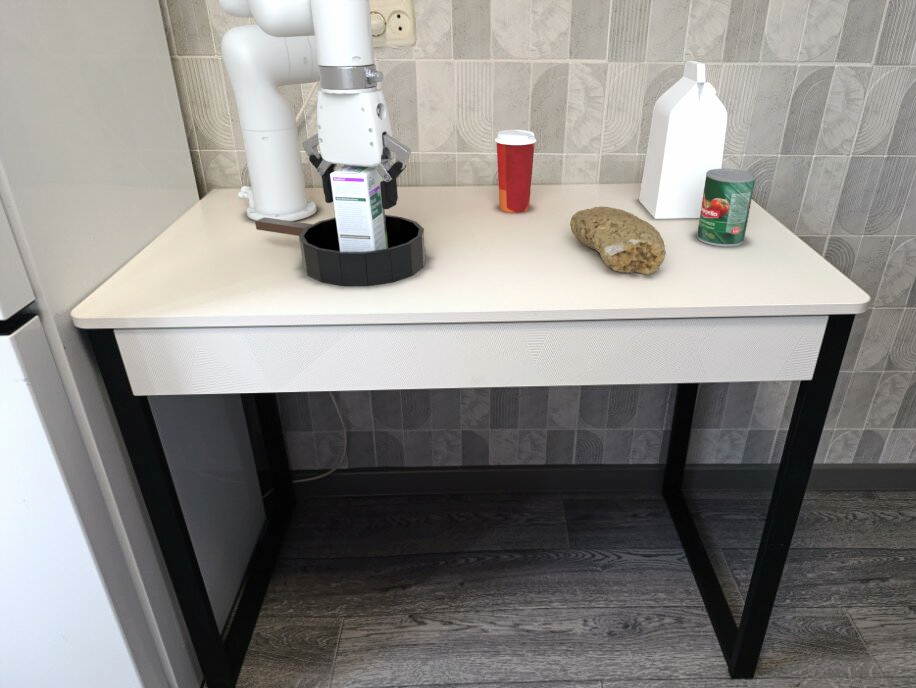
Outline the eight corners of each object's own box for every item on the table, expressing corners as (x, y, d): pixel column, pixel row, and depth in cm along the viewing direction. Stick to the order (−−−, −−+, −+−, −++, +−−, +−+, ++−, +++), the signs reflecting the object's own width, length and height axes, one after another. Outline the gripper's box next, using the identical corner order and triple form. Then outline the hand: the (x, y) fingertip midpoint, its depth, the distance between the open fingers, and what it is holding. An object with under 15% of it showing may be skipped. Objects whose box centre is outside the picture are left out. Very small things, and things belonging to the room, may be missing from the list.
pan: (225, 265, 107) (219, 234, 104) (298, 230, 122) (294, 202, 119) (387, 294, 98) (384, 260, 95) (444, 252, 113) (443, 222, 110)
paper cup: (541, 206, 135) (544, 131, 128) (521, 216, 129) (522, 138, 122) (507, 200, 139) (508, 127, 132) (486, 209, 133) (486, 133, 126)
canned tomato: (752, 238, 119) (764, 174, 114) (730, 250, 114) (742, 183, 109) (710, 228, 124) (720, 166, 118) (687, 239, 119) (697, 174, 113)
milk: (638, 200, 139) (654, 58, 126) (695, 199, 140) (716, 58, 127) (654, 218, 129) (673, 66, 116) (715, 217, 130) (740, 66, 117)
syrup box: (376, 270, 105) (368, 173, 98) (340, 267, 106) (329, 171, 99) (389, 257, 110) (382, 164, 103) (354, 254, 111) (344, 162, 104)
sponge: (671, 283, 105) (644, 217, 120) (671, 239, 100) (643, 176, 114) (585, 298, 106) (569, 231, 121) (580, 255, 101) (564, 190, 115)
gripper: (417, 78, 95) (424, 203, 103) (311, 74, 100) (326, 192, 109) (389, 84, 89) (400, 216, 97) (278, 80, 94) (297, 204, 103)
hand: (361, 203), depth 103 cm, fingers open, 9 cm apart
